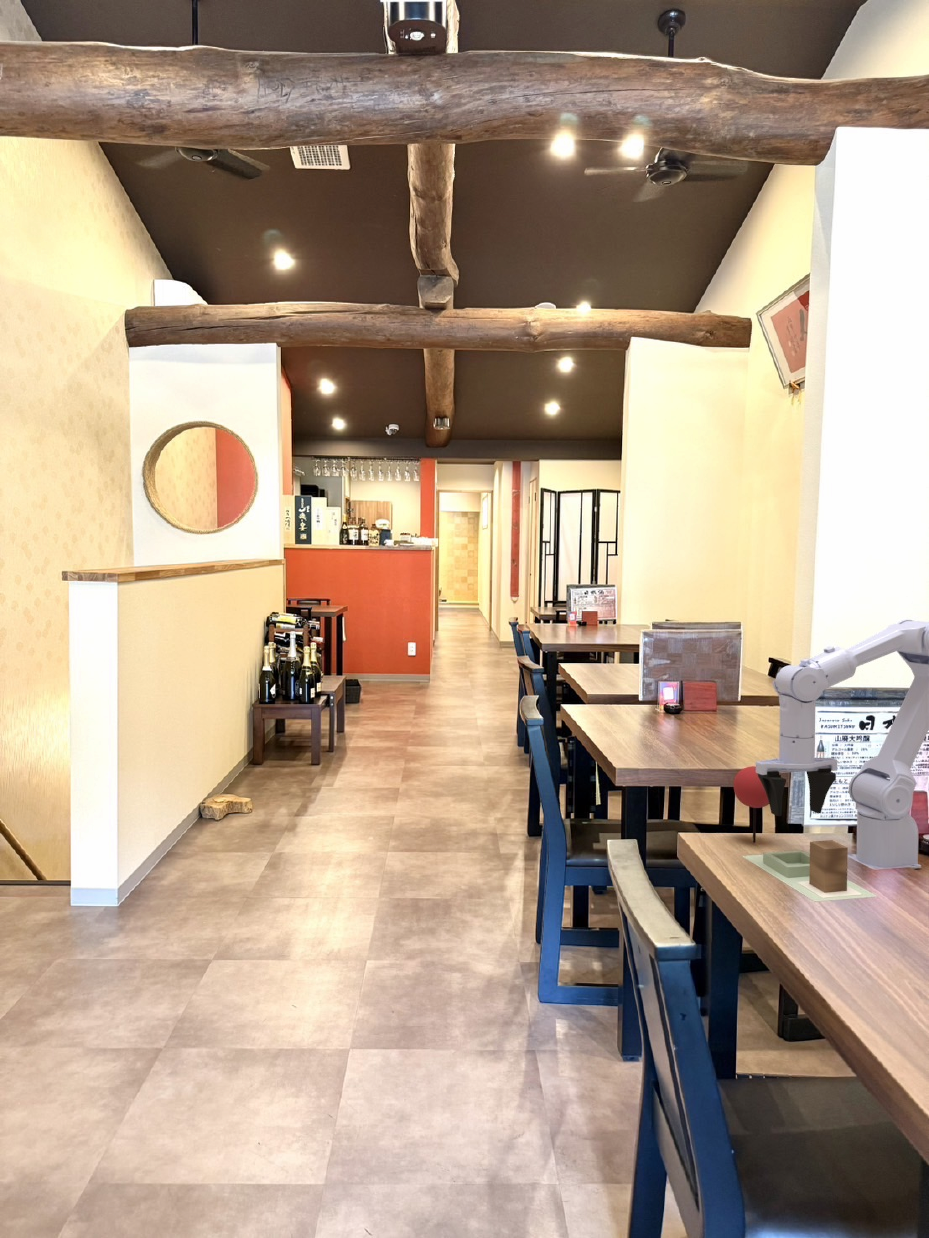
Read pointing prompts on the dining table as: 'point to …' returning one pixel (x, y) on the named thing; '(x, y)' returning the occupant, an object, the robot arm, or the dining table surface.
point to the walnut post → (828, 866)
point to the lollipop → (750, 792)
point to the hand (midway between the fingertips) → (796, 813)
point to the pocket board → (802, 875)
